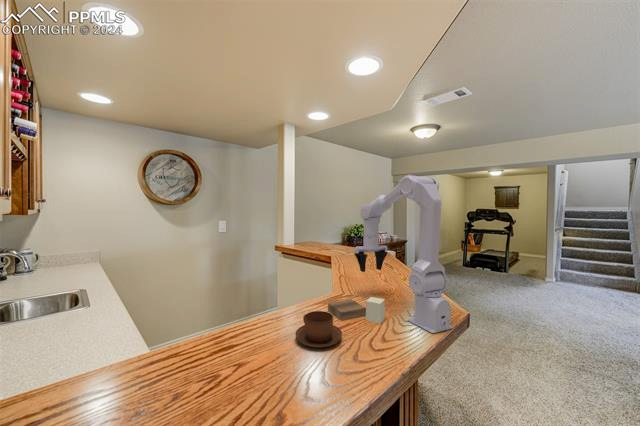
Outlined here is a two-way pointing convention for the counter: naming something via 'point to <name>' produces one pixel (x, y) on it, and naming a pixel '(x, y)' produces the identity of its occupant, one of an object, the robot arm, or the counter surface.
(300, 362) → the counter surface
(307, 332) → the cup and saucer
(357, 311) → the walnut slab
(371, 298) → the sage block
